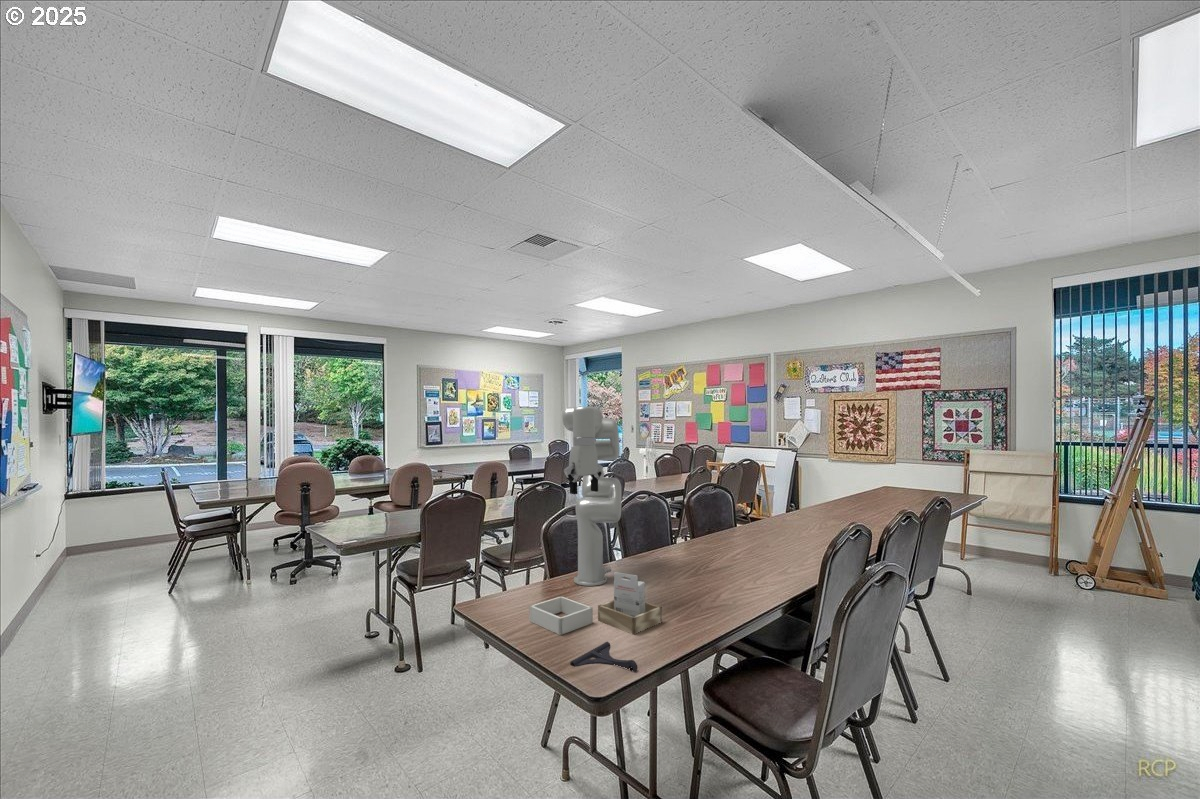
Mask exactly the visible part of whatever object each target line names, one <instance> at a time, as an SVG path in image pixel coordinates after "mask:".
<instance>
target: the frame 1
mask: <svg viewBox="0 0 1200 799" xmlns="http://www.w3.org/2000/svg"><path fill="white" fill-rule="evenodd" d="M593 609H594V608H593V606H589V605H587V604H583V603H581V602H579V601H575V600H573V599H570V598H567V597H564V596H563V595H562V596H557V597H554V598H551V599H548V600H544V601H541V602H539V603H535V604H532V605H531V604H530V605H529V615H528V616H529V618H528V619H529V620H528V621H529V622H530V623H533V624H535V625H537V626H538V627H539V626H540V627H541V628H543V629H546V630H548V631H550V632H553V633H555V634H557V635H559V636H562V635H565V634H567V633H569V632H573V631H575V630H577V629H580V628H582V627H583V628H584V627H585V626H589V625H591V624H593V623H594V622H593V621H594V620H593V615H594V614H593V612H594V610H593ZM558 613H563V614H565V615H563V616H561V617H560V616H559V615H556V614H558Z"/></svg>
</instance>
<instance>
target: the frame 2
mask: <svg viewBox="0 0 1200 799" xmlns="http://www.w3.org/2000/svg"><path fill="white" fill-rule="evenodd" d="M597 608H598V609H597V621H598V622H600V623H603V624H606V625H607V626H611V627H614V628H616V629H618V630H622V631H623V630H624V632H626V631H627V632H626V633H629V632H630V633H629V634H631V633H632V635H637V634H639V633H641V632H643V631H646V630H647V628H648V629H650V628H652V626H653V627H655V626H657V625H659V624H658V623H660V624H661V622H662V623H663V608H662V606H660V605H656V604H653V603H650V602H647V601H645V613H642V614H640V615H637V616H635V617H633V616H630V615H627V614H624V613H621V612H619V611H616V610H614V599H612V600H610V601H607V602H604V603H602V604H598V605H597ZM656 624H657V625H656ZM654 625H655V626H654ZM645 629H646V630H645ZM640 631H641V632H640ZM638 632H639V633H638ZM636 633H637V634H636Z"/></svg>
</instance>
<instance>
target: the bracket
mask: <svg viewBox="0 0 1200 799" xmlns="http://www.w3.org/2000/svg"><path fill="white" fill-rule="evenodd" d="M610 649H611V643H610V642H609V641H605V642H603V643H602V644H600V645H598V646H596V647H595V648H593V649H591V650H589V651H587V652H585V653H584V654H582V655H579V656H578V657H577V658H574V659H573V660H571V661H570V662H569V664H570V666H572V665H573V666H574V667H581V666H585V665H590V664H591V665H592V664H607V665H613V664H615V665H614V666H616V665H618V666H621V667H625V668H627V669H629V668H630V667H632V668H633V671H635V670H636V671H638V664H637V662H636V661H635V660H633V659H629V660H626V659H619V658H618V659H616V658H613V657H612V656H611V655H610ZM618 666H617V667H618ZM621 667H620V668H621ZM627 669H626V670H627ZM630 669H631V668H630ZM636 671H635V672H636Z"/></svg>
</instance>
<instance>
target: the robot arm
mask: <svg viewBox="0 0 1200 799" xmlns="http://www.w3.org/2000/svg"><path fill="white" fill-rule="evenodd" d="M602 412H603V411H601V410H600V408H598V407H595V406H571V407H570V406H569V407H566V408H565V409H564V410H563V412H562V417H561V418H562V423H563V425H564V427H565V429H566V431H569V432H572V437H573V438H572V446H571V448H570V453H569V457H568V458H569V460H568V466H567V467H565V468H564V469H563V472H564V474H565V478H566V479H567V482H569V494H571V495H577V494H578V482H577V480H578V478H579V477H582V483H581V484H582V485H581V496H582V498H580V499H578V500H577V501H576V503H575V507H574V508H575V516H576V522H577V523H576V524H577V575H576V576H574V578H573V583H575V584H576V585H579V586H584V587H585V586H587V587H592V586H593V587H594V586H601V585H604V584H606V583H607V581H608V578H607V576H606V574H607V573H611V572H612V568H611V567H610V566H608V567H604V566H603V565H604V564H603V563H604V559H603V558H604V548H603V547H604V546H603V544H604V542H603V541H604V540H603V539H604V537H603V536H604V535H603V532H602V530H601V529H600V527H599V526H598V525H597V524H599V523H600V524H614V523H615V524H616V523H618V522H619V521H620V519H621V517H622V484H621V481H620V480H619V479H618V478H616V477H605V473H604V472H605V471H604V466H603V465H601V464H600V463H599V462H598V461H615V460H617V459H618V458H619V457H620V451H621V450H620V432H619V426H618V423H617V421H616V420H615V419H613V418H603V413H602Z"/></svg>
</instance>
